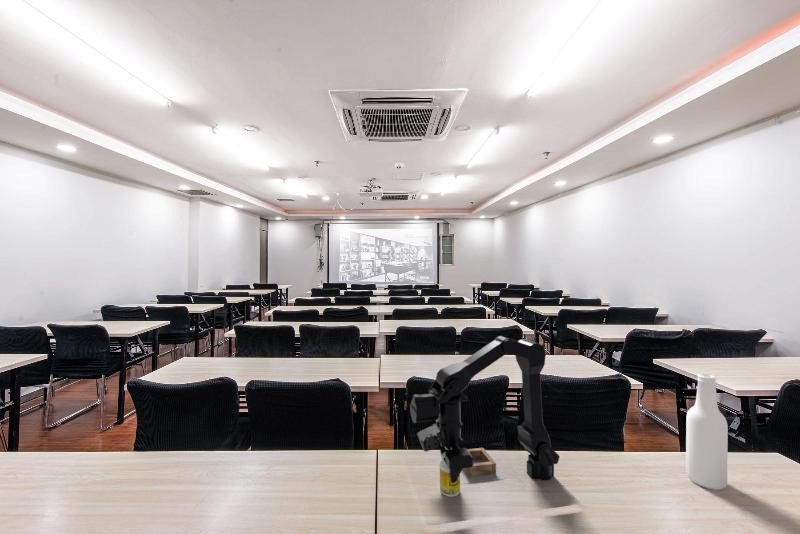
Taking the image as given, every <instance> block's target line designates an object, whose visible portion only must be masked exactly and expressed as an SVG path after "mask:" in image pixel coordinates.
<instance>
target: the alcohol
mask: <svg viewBox="0 0 800 534" xmlns="http://www.w3.org/2000/svg"><path fill="white" fill-rule="evenodd" d="M696 376H697V388H696V394H695V395H696V397H695V403H694V405H693V406H692V407H690V408H689V409H688V410H687V413H686V421H685V422H686V423H685V425H686V428H685V430H686V432H685V433H686V434H685V435H686V436H685V449H686V450H685V473H686V476H687V478H688V479H689V480H690V481H691V482H692V483H694V484H696V485H698V486H700V487H702V488H706V489H708V490H713V491H723V490H724V489H725V488H726V487H727V486H728V448H729V447H728V445H729V444H728V443H729V442H728V441H729V440H728V433H729V431H728V429H729V428H728V427H729V425H728V421H727V418H726V417H725V416H724V415H723V413H722V412H721V411H720V409H719V407H718V398H717V397H718V396H717V386H716V384H717V381H716V379H717V378H716V377H715V375H711V374H708V373H698V374H697V375H696Z"/></svg>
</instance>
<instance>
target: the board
mask: <svg viewBox="0 0 800 534" xmlns="http://www.w3.org/2000/svg"><path fill="white" fill-rule="evenodd" d="M474 463H482V460H475V461H474ZM460 479H461V480H462V481H463V483H464V485H465V484H466V485H467V484H474V483H475V484H476V483H482V482H489V481H498V480H505V479H506V478H505V476H504V475H503V474H502V473H501V471H500V470H499V469H498V468H497V466H496V474H490V475H482V476H474V477H466V475H465V473H464V472H463V470H462V471H461V473H460Z"/></svg>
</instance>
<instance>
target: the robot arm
mask: <svg viewBox="0 0 800 534" xmlns="http://www.w3.org/2000/svg"><path fill="white" fill-rule="evenodd" d="M546 353H547V352H546V348H545V347H544V346H543V345H542V344H540V343H537V342H536V341H532V340H529V339H526V338H522V339H519V340H516V339H512V338H508V337H505V336H503V335H499V336H497V337H495V339H494V340H493V341H491V342H489V343H488V344H486V345H485V346H483V347H482V348H481V349H479V350H477V351H476V352H475V353H473V354H471V355H469V356H468V357H467V358H465V359H464V360H462V361H460V362H456V363H452V364H449V365H447V366H445V367H442V368H440V370H438V371H437V372H436V377H435V379H434V381H433V383H432V384H431V385H430V387H429V389H428V393H424V394H423V393H422V394H419V393H418V394H413V395H412V399H411V402H410V404H409V412H410V417H411V420H412V421H411V422H412V423H413V424H417V423H425V422H431V421H435V423H433V424H431V425H430V426H429V427H426V428H424V429H422V430H419V431H418V432H417V433H416V435H417V438H418V440H419V443H420V446H421V447H422V449H423V451H424V452H429V451H433V450H435V449H437V448H438V449H439V452H440V457H441V458H442V454H443V453H444V452H446V453H445V458H443V459H444V461H445V463H446V464H447V465H448V467H449V471H450V477H451V482H452V483H455V482H456V481H457V479H458V477H459V475H460V473H461V471H462V469H463V468H470V467H473V466H474V458H473V457H472V455H471V454H470V453H469V451H468V450H467V449H468V448H466V447H462V448H460V446H459V445H463V444H464V439H463V438H462V437H461V435H462V434H461V430H462V429H464V424H463V422H462V421H461V420H462V419H461V403H462V402H468V401H469V398H468V397H467V396H466V395H465V394H464V393H463V391H464V390H465V389H466V388H467V387H468V386H469V384H470V383H471V381H472V379H473V378H474V377H475V376H476V375H478V374H479V373H481V372H483V370H485V369H486V368H488V367H489V366H491V365H492V364H494V363H496V362H497V361H498V360H499V359H501V358H502V357H504V356H506V355H507V354H511V355H514V356H515V360H516V362H517V364H518V367H519V369H520V371H521V382H522V383H521V384H522V397H523V413H524V417H523V418H524V421H523V422H522V424H521V425H517V440H518V441H519V443H520V444H521V446H523V447H524V450H525V452H527V453H528V456H527V458H528V460H526V474H527V475H528V477H530V479H532V480H533V479H534V480H539V481H549V480H552V478H554V477H555V465H556V464H559V461H560V455H559V454H558V453H557V452H556V451H555V450H554V449H553V448H552V444H551V439H550V435H549V433H548V431H547V429H546V427H545V426H546V425H544V419H543V418H544V417H543V416H544V415H543V404H542V403H543V401H542V387H541V385H542V384H541V383H542V382H541V372H542V370H543V369H544V367H545V365H546ZM440 389H441V390H442V392H441V391H440Z"/></svg>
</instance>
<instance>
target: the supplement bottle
mask: <svg viewBox="0 0 800 534" xmlns="http://www.w3.org/2000/svg"><path fill="white" fill-rule="evenodd" d="M445 453H446V452H444V453H443V454H442V457H441V462H440V463H439V491H440V493H441V494H442V495H444V496H446V497H456V496H458V495H459V494H460V491H461V476H460V475H459V477H458V479H457V481H456V482H455V483H452V482H451V477H450V471H449V467H448V465H447V464H446V463H445V461H444V459H443V458H445Z"/></svg>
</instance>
